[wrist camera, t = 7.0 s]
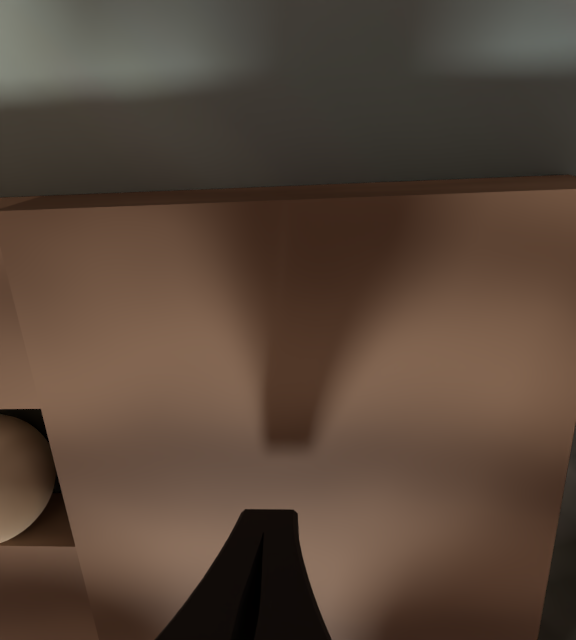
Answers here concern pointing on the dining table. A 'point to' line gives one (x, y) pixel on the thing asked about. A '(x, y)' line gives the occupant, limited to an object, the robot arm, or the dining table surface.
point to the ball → (23, 475)
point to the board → (294, 398)
